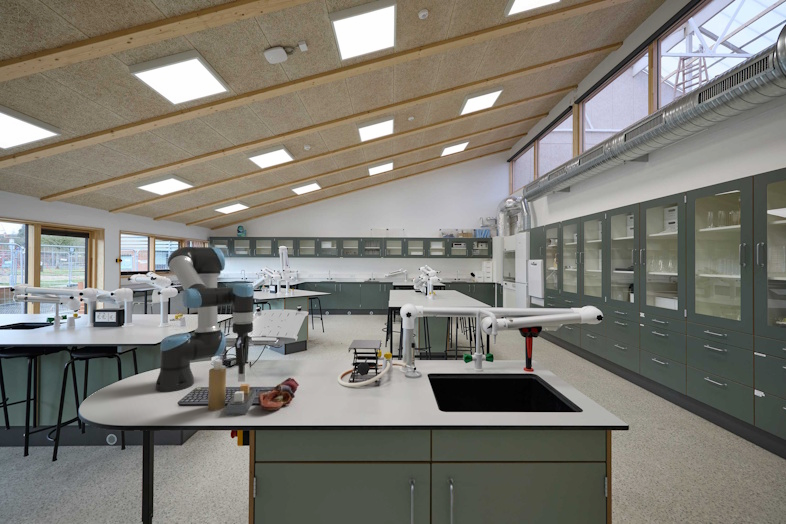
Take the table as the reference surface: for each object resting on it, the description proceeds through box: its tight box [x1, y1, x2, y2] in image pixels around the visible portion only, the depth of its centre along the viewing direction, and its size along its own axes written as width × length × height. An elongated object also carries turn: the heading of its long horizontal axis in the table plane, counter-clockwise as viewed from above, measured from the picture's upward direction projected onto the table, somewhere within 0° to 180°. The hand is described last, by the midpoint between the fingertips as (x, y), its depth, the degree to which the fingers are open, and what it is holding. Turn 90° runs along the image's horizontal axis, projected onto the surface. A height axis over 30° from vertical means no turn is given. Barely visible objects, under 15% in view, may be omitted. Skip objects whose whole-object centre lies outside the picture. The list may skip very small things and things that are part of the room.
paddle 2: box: [239, 383, 250, 394], centre depth 144 cm, size 2×3×3 cm, turn 99°
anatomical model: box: [257, 377, 300, 411], centre depth 140 cm, size 11×13×15 cm
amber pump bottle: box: [207, 360, 227, 411], centre depth 138 cm, size 6×6×18 cm
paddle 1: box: [233, 390, 244, 402], centre depth 136 cm, size 2×3×3 cm, turn 99°
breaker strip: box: [225, 387, 257, 417], centre depth 143 cm, size 22×7×4 cm, turn 9°
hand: (241, 380), depth 140 cm, fingers closed
